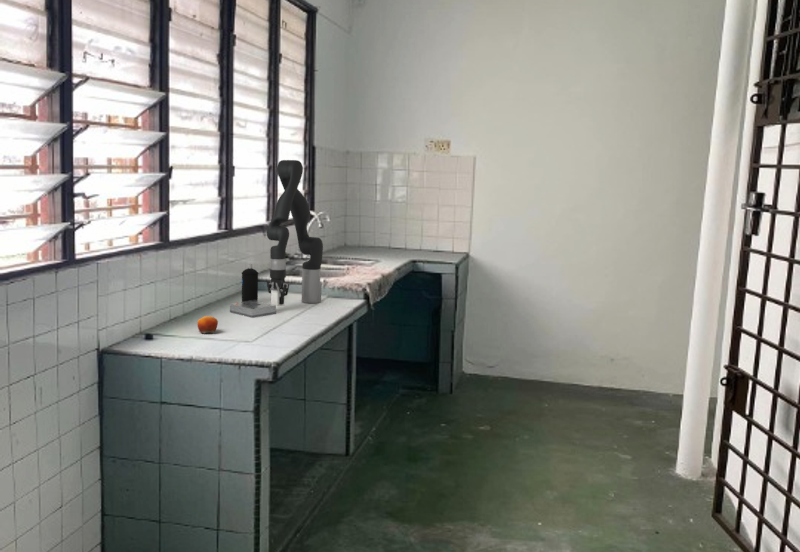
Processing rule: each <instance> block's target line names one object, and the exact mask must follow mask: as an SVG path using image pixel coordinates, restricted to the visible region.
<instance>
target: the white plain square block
mask: <svg viewBox="0 0 800 552" xmlns="http://www.w3.org/2000/svg"><path fill="white" fill-rule="evenodd" d="M270 290H271V289H270ZM281 294H282V292H281ZM270 296H271V299H270V301H271V302H270V304H272V305H276V308H277V307H282V306H285V303H284V304H281V305H280V304H279V297H280V296H279V292H278V291H277V290H271V293H270Z"/></svg>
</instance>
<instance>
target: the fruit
mask: <svg viewBox="0 0 800 552" xmlns="http://www.w3.org/2000/svg"><path fill="white" fill-rule="evenodd" d="M196 322H197V323H196V324H197V328H198V332H199V333H200V334H204V335H205V334H208V333H209V334H210V333H211V334H215V331H216V330H217V328H218V323H219V321H218V319H217V318H215V317H214V316H212V315H211V316H209V315H205V316H202V317H201V318H199V319H198V320H197V321H196Z"/></svg>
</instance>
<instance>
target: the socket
mask: <svg viewBox="0 0 800 552" xmlns="http://www.w3.org/2000/svg"><path fill="white" fill-rule="evenodd" d="M229 313H232V314H236V315H240V316H243V315H244V317H248V318H252V319H253V318H258V317H265V316H270V315H276V314H277V306H276V305H272V304H271V303H267V302H262V301H259V300H250V301H245V302H242V301H240V302H233V303H229Z"/></svg>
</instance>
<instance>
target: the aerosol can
mask: <svg viewBox="0 0 800 552" xmlns="http://www.w3.org/2000/svg"><path fill="white" fill-rule="evenodd" d="M258 294H259V272H258V271H257V270H256V269H254V268H253V264H252V263H248V264H247V268H246V269H245V268H244V270H242V272H241V302H245V301H250V300H258V298H259V297H258ZM258 301H259V300H258Z"/></svg>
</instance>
